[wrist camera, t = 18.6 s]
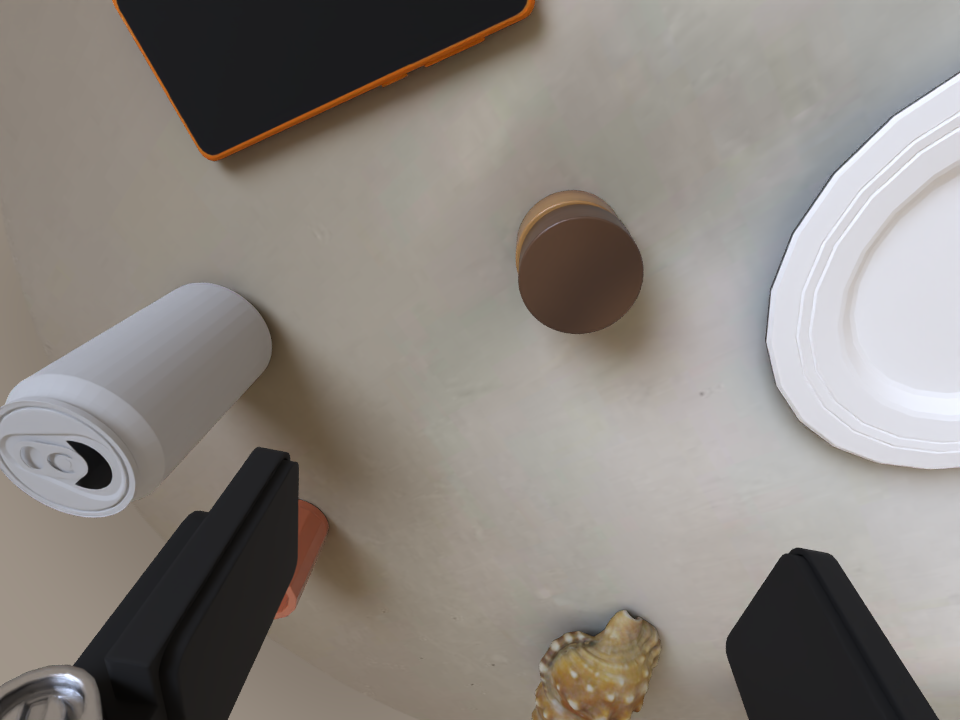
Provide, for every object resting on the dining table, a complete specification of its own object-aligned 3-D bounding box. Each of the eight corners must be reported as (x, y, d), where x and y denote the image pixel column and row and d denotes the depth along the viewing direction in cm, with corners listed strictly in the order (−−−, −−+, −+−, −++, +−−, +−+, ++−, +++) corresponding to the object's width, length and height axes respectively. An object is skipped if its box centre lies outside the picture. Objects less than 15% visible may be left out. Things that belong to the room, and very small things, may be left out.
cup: (253, 522, 38) (209, 594, 32) (286, 486, 36) (243, 557, 31) (307, 554, 39) (273, 629, 34) (341, 521, 37) (310, 596, 32)
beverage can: (276, 388, 32) (150, 542, 21) (171, 363, 32) (-7, 506, 21) (280, 293, 29) (136, 418, 18) (164, 264, 29) (-49, 375, 18)
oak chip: (495, 247, 27) (492, 262, 24) (568, 166, 24) (572, 174, 22) (569, 311, 28) (572, 330, 26) (644, 239, 26) (654, 254, 24)
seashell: (624, 642, 45) (592, 777, 40) (541, 597, 46) (498, 725, 40) (685, 634, 38) (656, 800, 32) (585, 581, 38) (539, 736, 32)
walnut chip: (496, 265, 25) (493, 283, 22) (575, 177, 22) (580, 188, 20) (576, 333, 26) (580, 356, 24) (658, 256, 24) (670, 273, 22)
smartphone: (114, -8, 23) (100, -11, 22) (472, -222, 18) (470, -235, 18) (215, 166, 26) (205, 168, 25) (540, 15, 22) (540, 13, 21)
